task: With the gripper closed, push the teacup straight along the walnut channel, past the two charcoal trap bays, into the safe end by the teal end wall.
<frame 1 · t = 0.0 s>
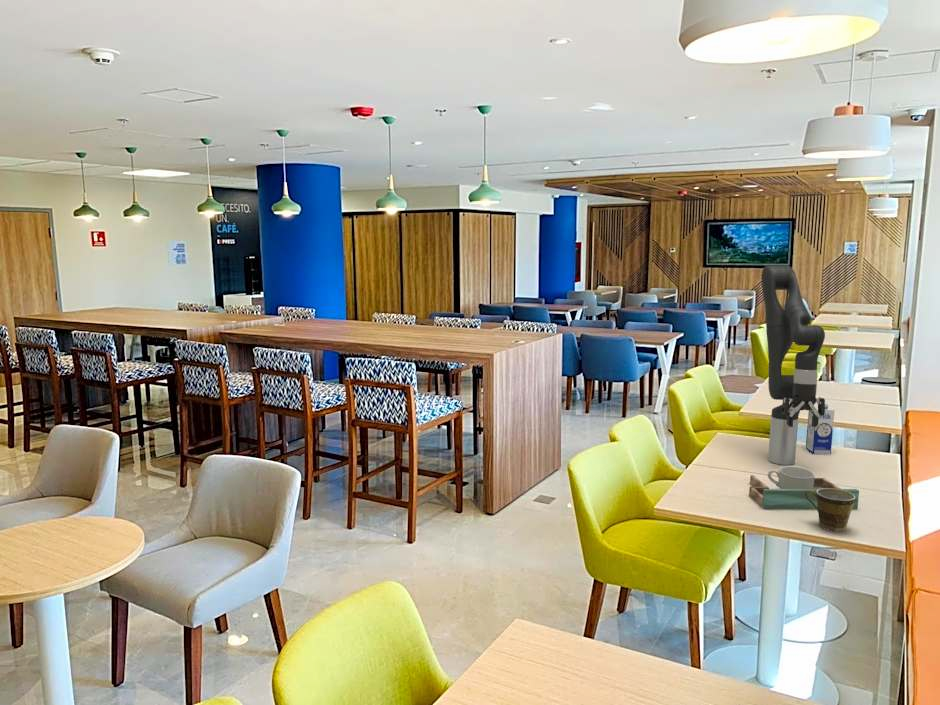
hand: (802, 426, 243), 17 cm above the table, tool pointing down, fingers open, 8 cm apart
milk carton: (817, 452, 271), on the table
ceramic cup: (826, 526, 199), on the table
teacup: (789, 493, 226), resting in trap box
trap box: (793, 495, 223), on the table
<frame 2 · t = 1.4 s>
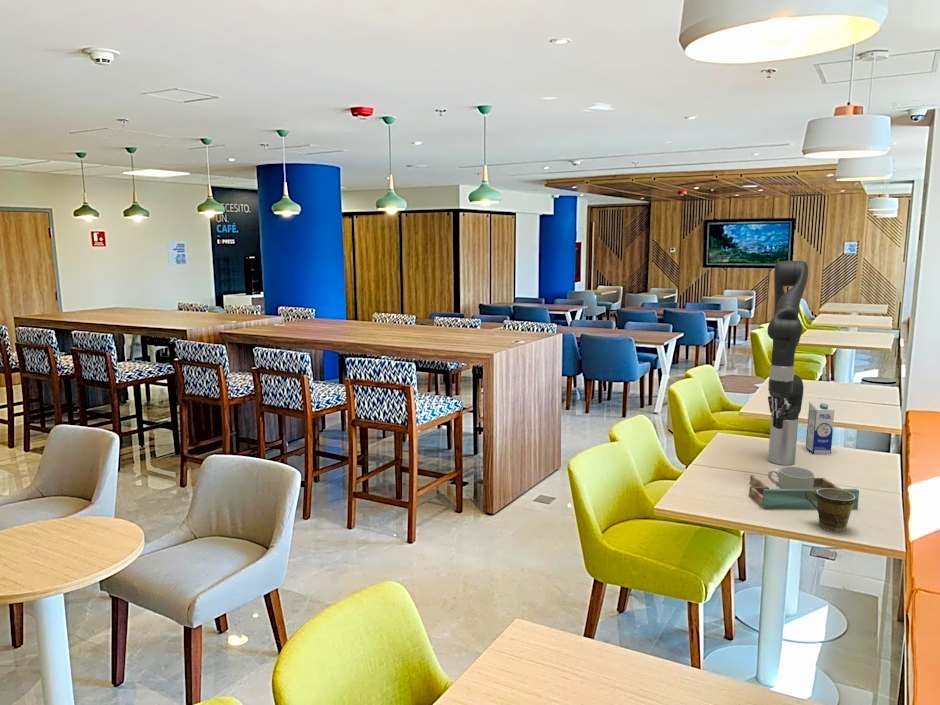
hand: (777, 427, 234), 19 cm above the table, tool pointing down, fingers closed
nothing on the table moved.
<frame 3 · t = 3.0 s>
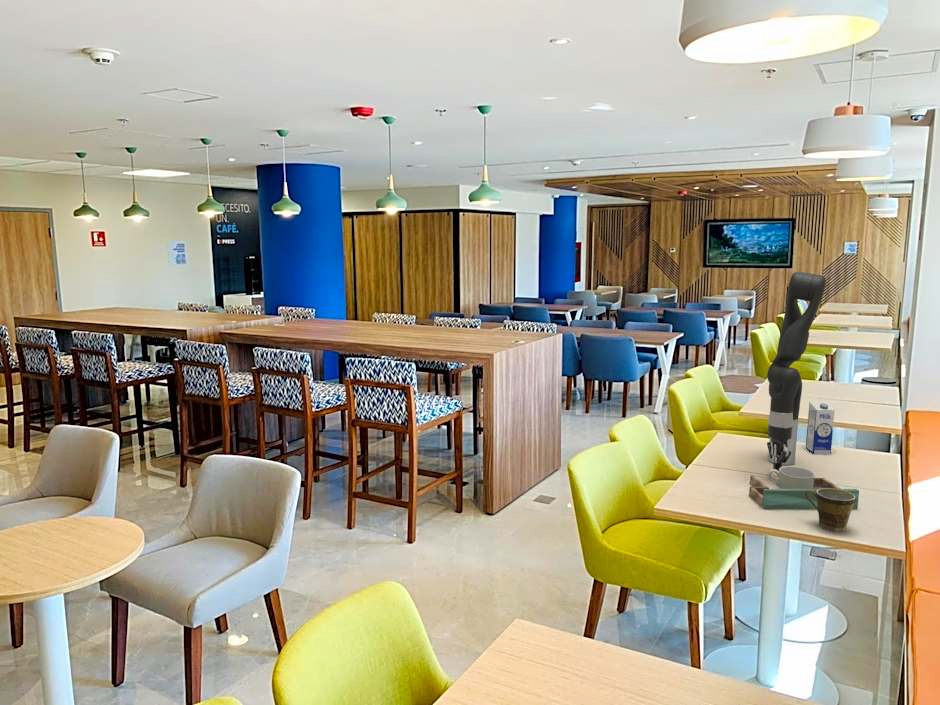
hand: (777, 472, 236), 3 cm above the table, tool pointing down, fingers closed
nothing on the table moved.
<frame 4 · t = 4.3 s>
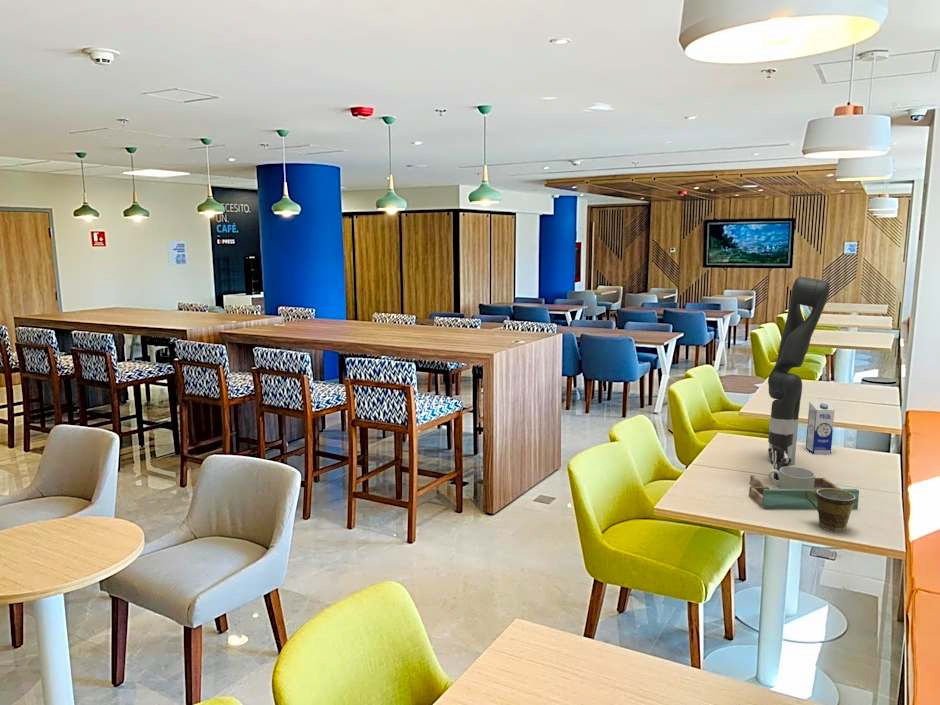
hand: (777, 479, 234), 2 cm above the table, tool pointing down, fingers closed
teacup: (790, 494, 225), resting in trap box, touching hand
everything else where it was.
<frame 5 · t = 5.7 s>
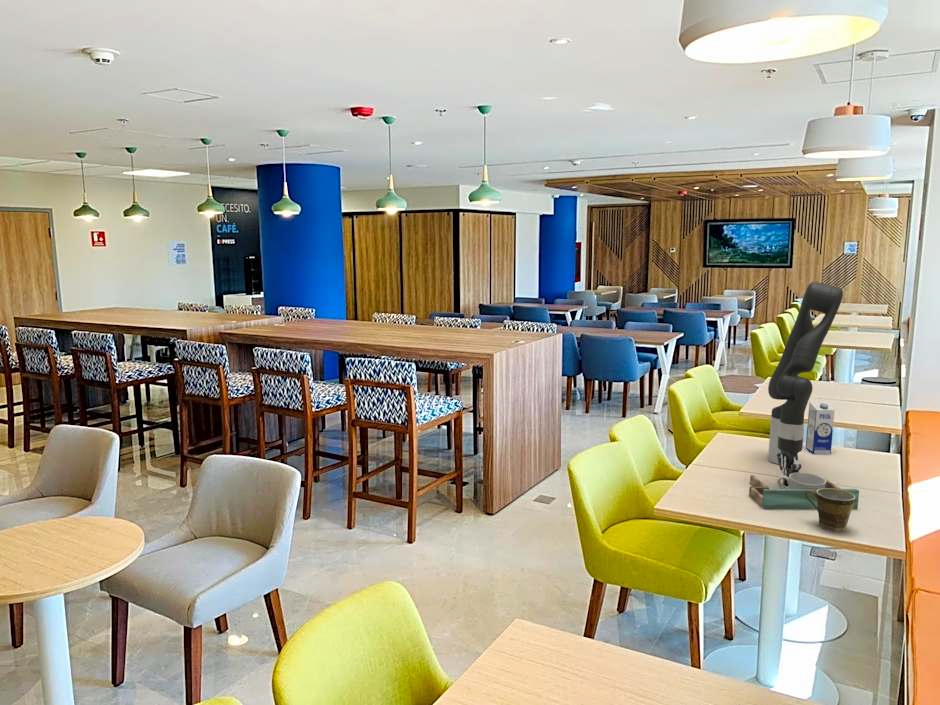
hand: (786, 485, 228), 2 cm above the table, tool pointing down, fingers closed
teacup: (799, 501, 219), resting in trap box, touching hand
everything else where it was.
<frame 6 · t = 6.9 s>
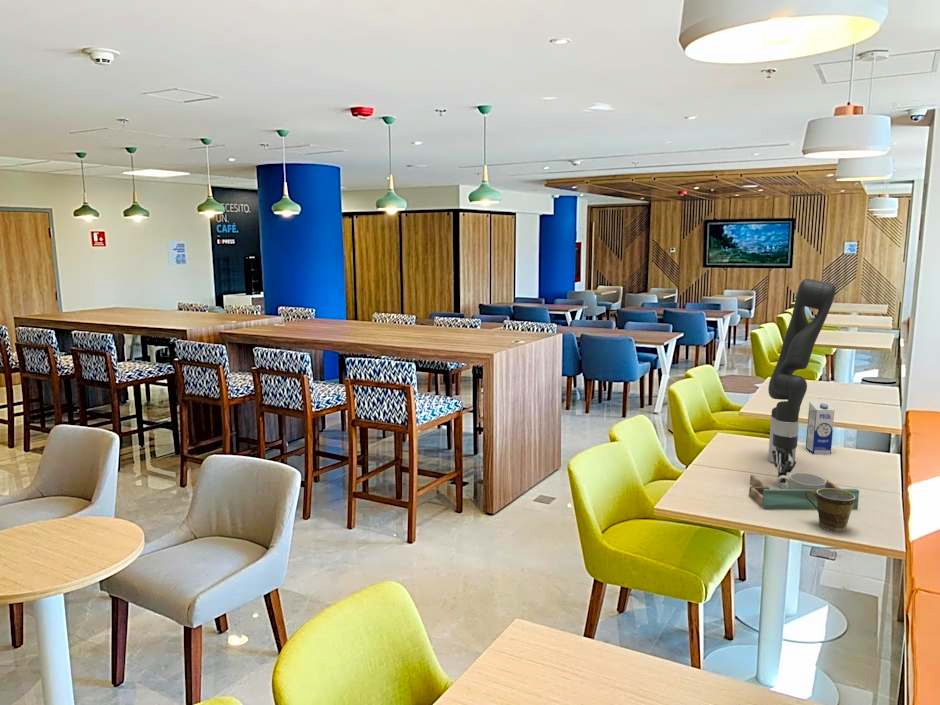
hand: (781, 482, 232), 1 cm above the table, tool pointing down, fingers closed
teacup: (799, 501, 219), resting in trap box
everything else where it was.
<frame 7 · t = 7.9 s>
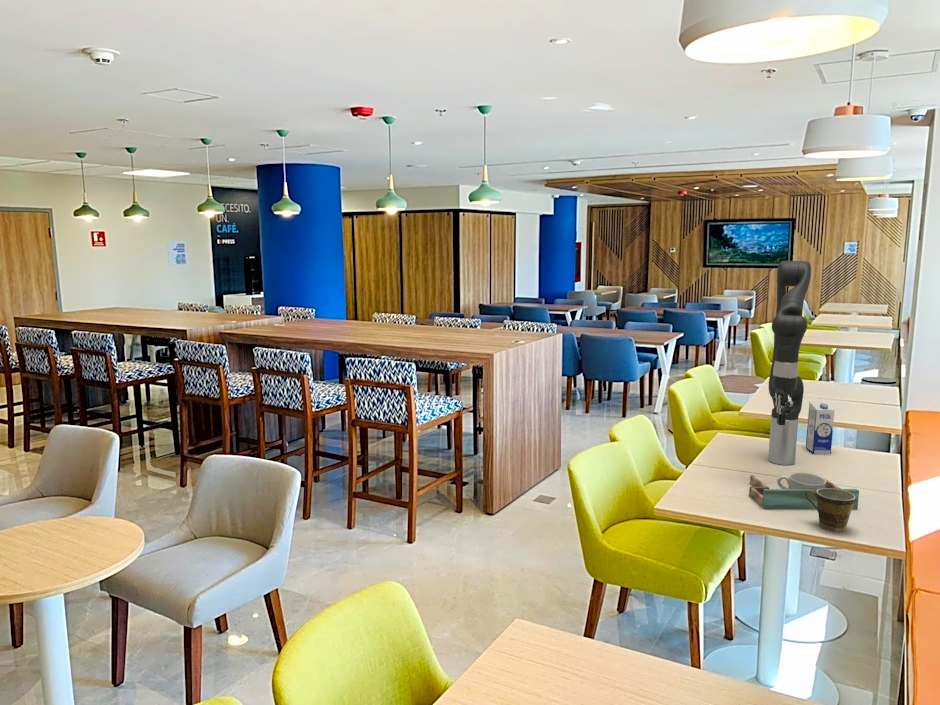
hand: (780, 424, 232), 21 cm above the table, tool pointing down, fingers closed
nothing on the table moved.
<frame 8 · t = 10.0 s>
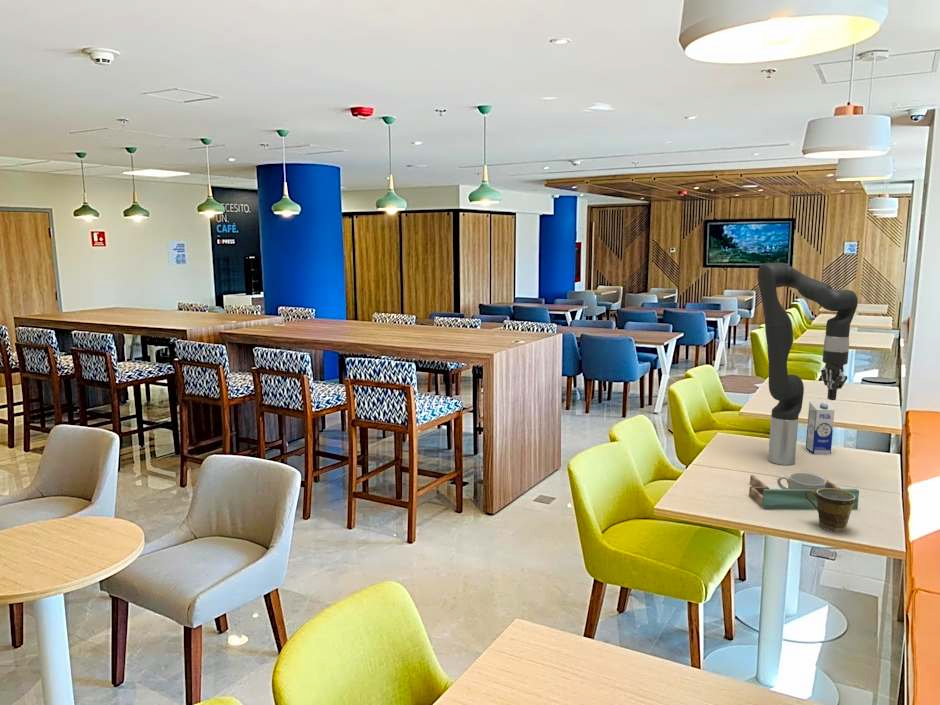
hand: (831, 399, 232), 29 cm above the table, tool pointing down, fingers closed
nothing on the table moved.
at the end: teacup inside the target area on the trap box (1.3 cm from its centre), point 0.0 cm above the trap box's base; teacup tilted 0°; teacup moved 6.5 cm from its start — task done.
